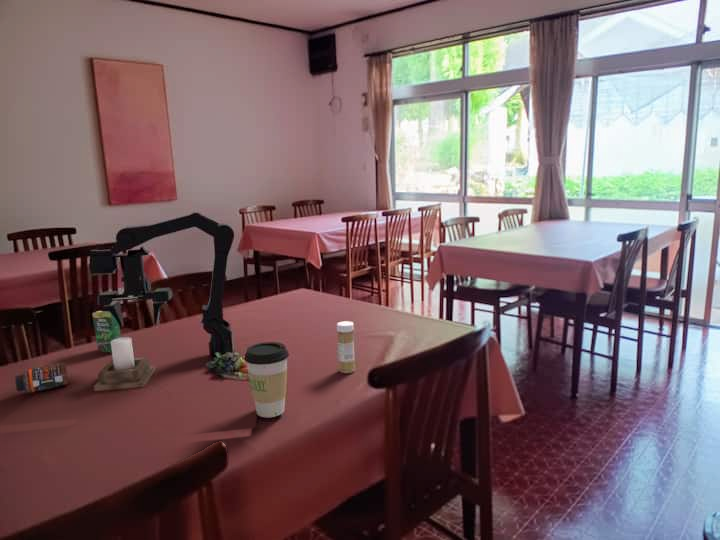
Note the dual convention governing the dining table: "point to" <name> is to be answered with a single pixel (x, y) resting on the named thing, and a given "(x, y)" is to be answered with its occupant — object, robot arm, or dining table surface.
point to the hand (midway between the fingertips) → (139, 325)
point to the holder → (124, 376)
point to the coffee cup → (268, 377)
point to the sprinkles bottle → (346, 347)
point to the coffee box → (105, 330)
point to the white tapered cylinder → (122, 353)
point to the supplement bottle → (42, 378)
